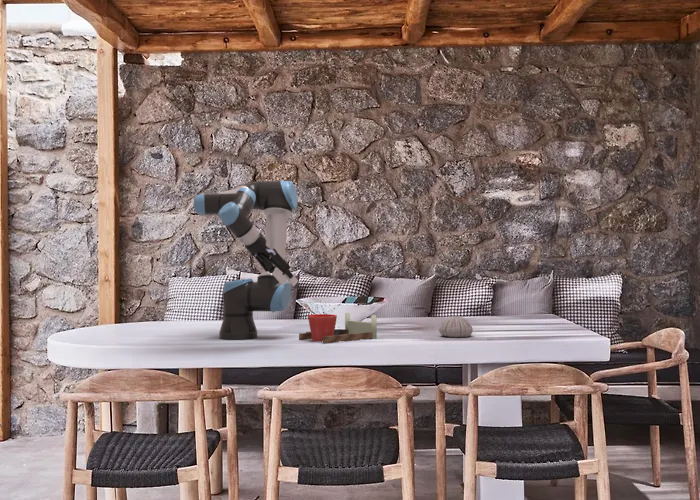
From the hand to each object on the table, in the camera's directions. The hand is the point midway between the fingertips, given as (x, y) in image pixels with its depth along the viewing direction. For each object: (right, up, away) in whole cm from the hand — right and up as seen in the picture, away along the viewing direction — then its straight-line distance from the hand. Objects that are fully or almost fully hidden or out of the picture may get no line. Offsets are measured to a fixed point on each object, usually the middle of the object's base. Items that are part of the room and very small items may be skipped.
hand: (290, 283), depth 293 cm
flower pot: (+12, -23, +10) cm, 27 cm away
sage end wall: (+26, -22, +21) cm, 40 cm away
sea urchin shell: (+64, -22, +19) cm, 70 cm away
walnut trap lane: (+16, -22, +15) cm, 31 cm away
